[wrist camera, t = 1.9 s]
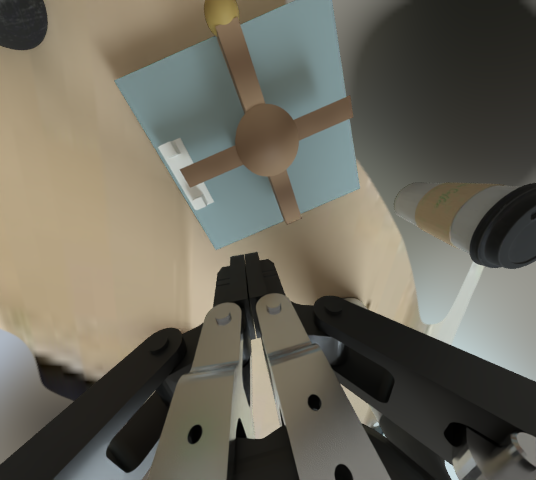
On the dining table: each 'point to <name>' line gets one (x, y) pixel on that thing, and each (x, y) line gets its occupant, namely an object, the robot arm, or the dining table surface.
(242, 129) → the capstan
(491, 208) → the coffee cup
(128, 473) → the robot arm
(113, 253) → the dining table surface
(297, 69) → the stand
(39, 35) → the travel mug
